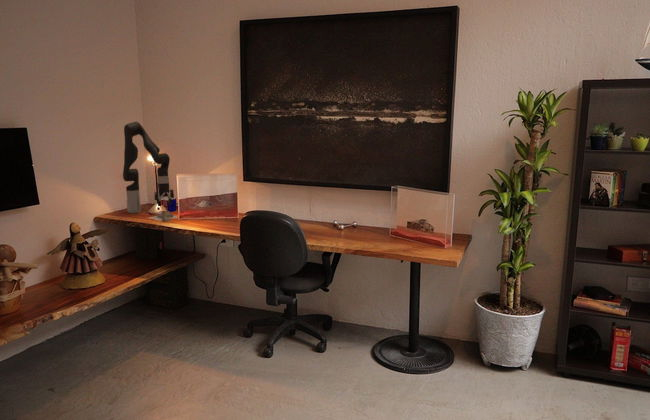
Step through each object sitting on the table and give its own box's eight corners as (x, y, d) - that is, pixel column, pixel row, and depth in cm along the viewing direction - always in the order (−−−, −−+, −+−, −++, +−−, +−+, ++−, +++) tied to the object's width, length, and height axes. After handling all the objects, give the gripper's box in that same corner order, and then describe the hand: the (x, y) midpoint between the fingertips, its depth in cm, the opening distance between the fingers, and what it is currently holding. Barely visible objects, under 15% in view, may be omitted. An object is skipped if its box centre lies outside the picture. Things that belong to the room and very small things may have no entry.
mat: (147, 218, 377) (147, 217, 377) (166, 214, 389) (166, 214, 389) (160, 221, 367) (160, 220, 367) (179, 217, 380) (179, 216, 380)
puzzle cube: (168, 213, 394) (167, 200, 392) (158, 212, 399) (157, 199, 397) (177, 211, 403) (176, 198, 401) (167, 209, 408) (166, 197, 406)
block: (161, 221, 368) (161, 211, 366) (166, 220, 371) (166, 210, 369) (165, 222, 365) (164, 212, 364) (170, 221, 368) (169, 211, 367)
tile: (156, 214, 378) (164, 216, 373) (165, 212, 384) (173, 214, 379) (156, 217, 378) (164, 219, 373) (165, 215, 385) (173, 217, 379)
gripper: (157, 183, 354) (159, 207, 358) (175, 181, 365) (176, 204, 369) (151, 183, 359) (152, 206, 362) (168, 180, 370) (170, 203, 373)
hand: (164, 205), depth 365 cm, fingers open, 8 cm apart
